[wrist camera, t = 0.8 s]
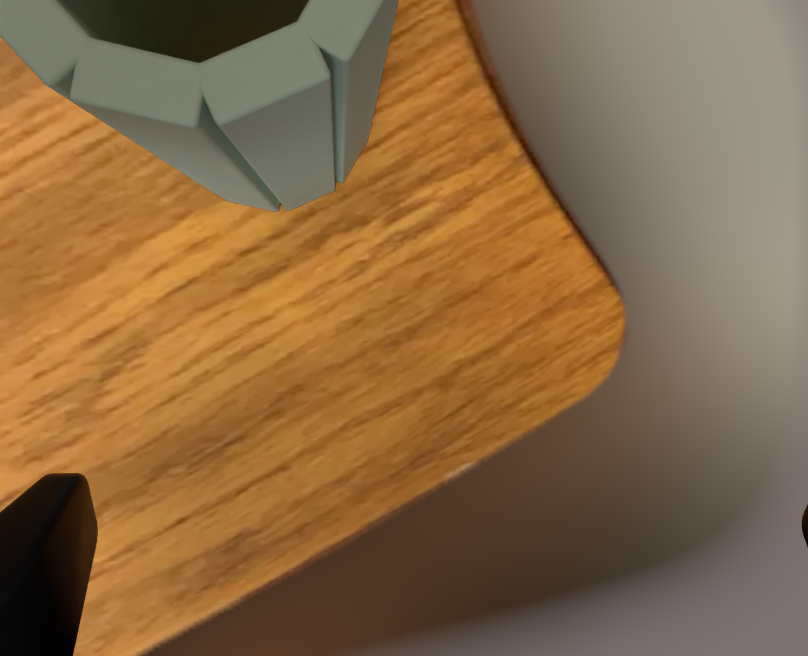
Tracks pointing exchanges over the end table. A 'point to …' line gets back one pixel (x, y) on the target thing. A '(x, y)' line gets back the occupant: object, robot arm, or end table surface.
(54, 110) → the end table surface
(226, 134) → the sleeve
